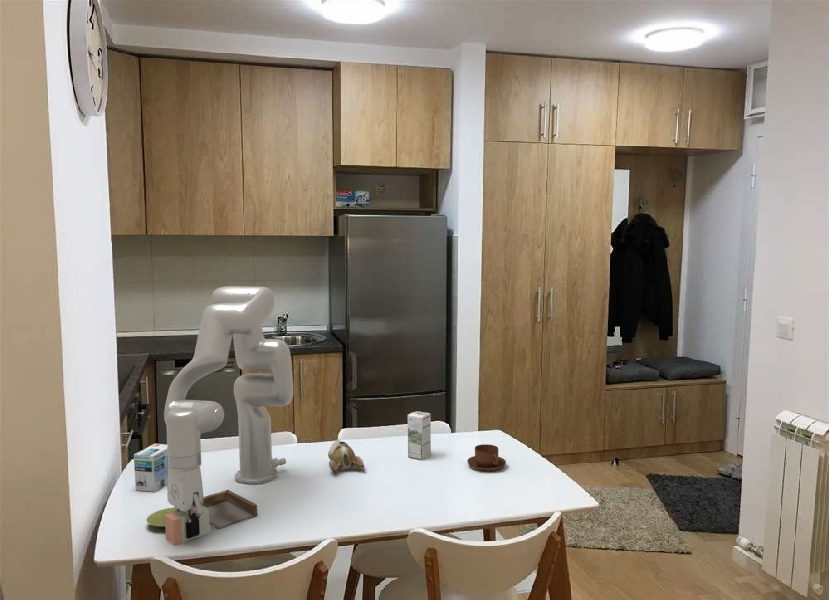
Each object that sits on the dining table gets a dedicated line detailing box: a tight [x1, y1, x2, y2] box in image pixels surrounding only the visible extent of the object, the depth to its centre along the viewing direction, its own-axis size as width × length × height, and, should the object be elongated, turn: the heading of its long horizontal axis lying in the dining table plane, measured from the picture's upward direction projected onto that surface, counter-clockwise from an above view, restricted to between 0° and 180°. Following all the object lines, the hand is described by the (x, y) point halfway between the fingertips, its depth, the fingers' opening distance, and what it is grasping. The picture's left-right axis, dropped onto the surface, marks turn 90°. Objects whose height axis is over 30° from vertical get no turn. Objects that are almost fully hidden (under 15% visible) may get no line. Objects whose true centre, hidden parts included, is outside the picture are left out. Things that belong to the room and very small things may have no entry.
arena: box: [191, 489, 258, 530], centre depth 172 cm, size 11×15×3 cm
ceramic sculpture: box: [327, 438, 365, 473], centre depth 205 cm, size 11×9×15 cm
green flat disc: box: [146, 506, 175, 527], centre depth 166 cm, size 11×11×2 cm
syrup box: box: [407, 411, 432, 461], centre depth 215 cm, size 6×6×14 cm
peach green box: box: [164, 506, 211, 546], centre depth 159 cm, size 9×4×6 cm, turn 135°
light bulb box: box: [133, 443, 168, 493], centre depth 192 cm, size 11×7×11 cm, turn 168°
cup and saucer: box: [466, 444, 507, 472], centre depth 205 cm, size 12×12×6 cm
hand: (187, 532), depth 159 cm, fingers closed on peach green box, 4 cm apart
